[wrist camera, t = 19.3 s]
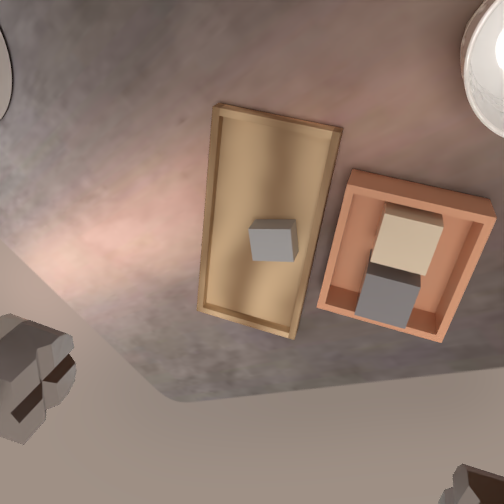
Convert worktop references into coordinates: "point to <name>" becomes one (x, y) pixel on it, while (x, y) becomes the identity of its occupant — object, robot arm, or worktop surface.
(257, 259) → the light grey block
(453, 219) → the terracotta dish
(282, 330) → the oak tray
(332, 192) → the worktop surface
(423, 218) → the beige cube
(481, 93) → the white cup
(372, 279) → the charcoal cube
